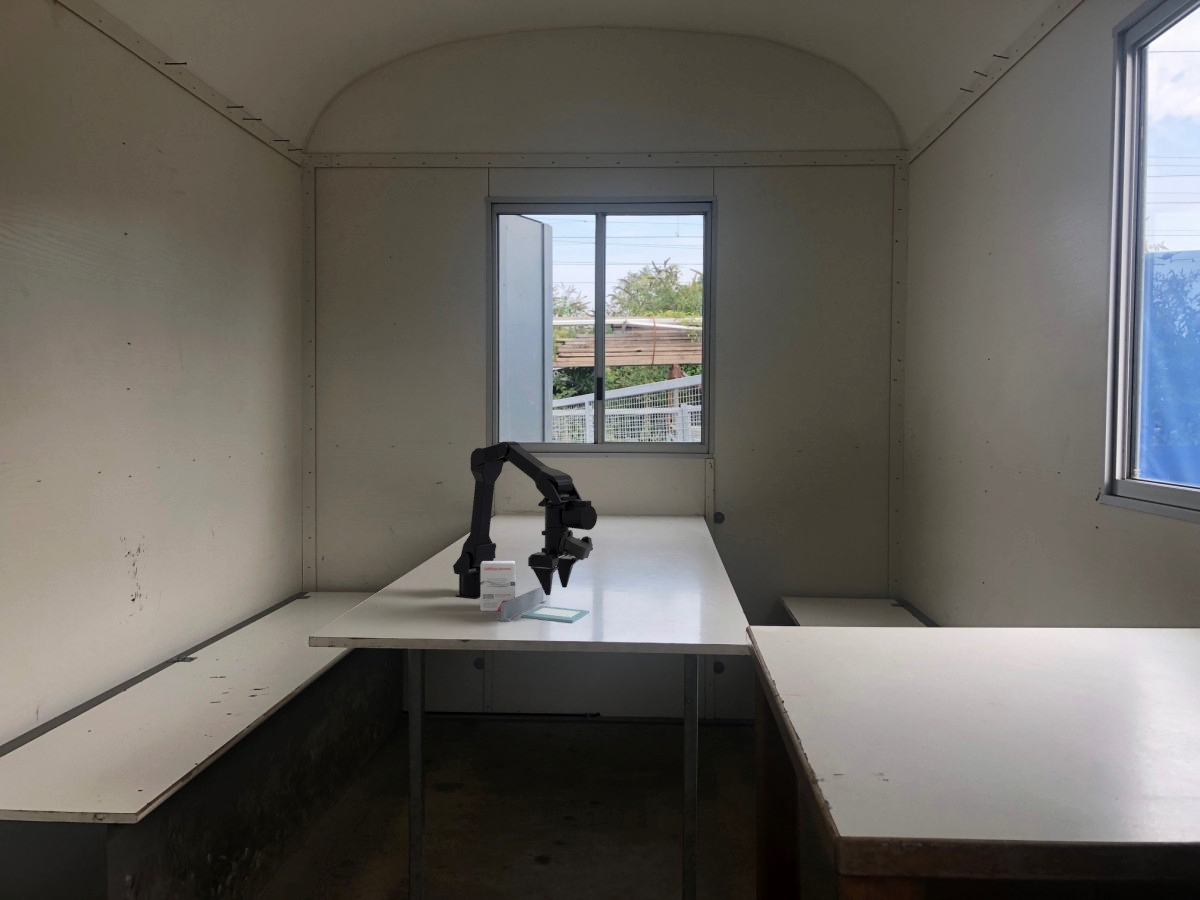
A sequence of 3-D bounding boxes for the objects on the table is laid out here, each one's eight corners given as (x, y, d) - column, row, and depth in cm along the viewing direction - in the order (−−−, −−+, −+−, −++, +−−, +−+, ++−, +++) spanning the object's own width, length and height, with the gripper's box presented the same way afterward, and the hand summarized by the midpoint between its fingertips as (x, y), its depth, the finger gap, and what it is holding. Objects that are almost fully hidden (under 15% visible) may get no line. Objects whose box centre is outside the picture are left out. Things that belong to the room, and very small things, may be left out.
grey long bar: (497, 620, 174) (497, 603, 174) (536, 602, 193) (536, 586, 193) (508, 621, 173) (508, 604, 173) (546, 603, 192) (546, 587, 191)
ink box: (515, 606, 188) (515, 559, 188) (515, 611, 183) (515, 563, 183) (481, 606, 188) (481, 560, 187) (480, 611, 183) (480, 563, 182)
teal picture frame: (522, 617, 177) (522, 614, 177) (541, 608, 187) (541, 605, 187) (572, 623, 172) (572, 620, 172) (589, 613, 182) (589, 610, 182)
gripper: (571, 533, 167) (571, 602, 168) (602, 523, 184) (602, 586, 185) (527, 530, 171) (526, 598, 172) (561, 521, 189) (561, 582, 189)
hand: (556, 591), depth 179 cm, fingers open, 9 cm apart
